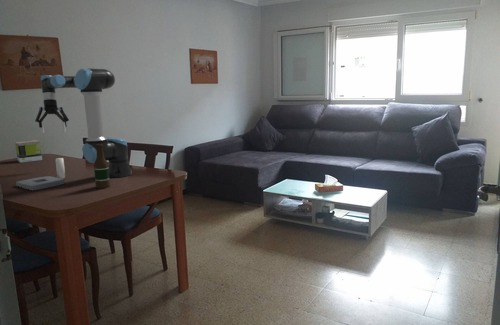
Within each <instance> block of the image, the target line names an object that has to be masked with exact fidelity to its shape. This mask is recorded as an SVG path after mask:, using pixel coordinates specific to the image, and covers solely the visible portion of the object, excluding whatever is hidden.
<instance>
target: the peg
mask: <svg viewBox="0 0 500 325" xmlns="http://www.w3.org/2000/svg"><path fill="white" fill-rule="evenodd" d="M55 166H56V168H55V169H56V178H60V179H65V178H66V171H65V170H66V169H65V161H64V157H57V158H55Z"/></svg>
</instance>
